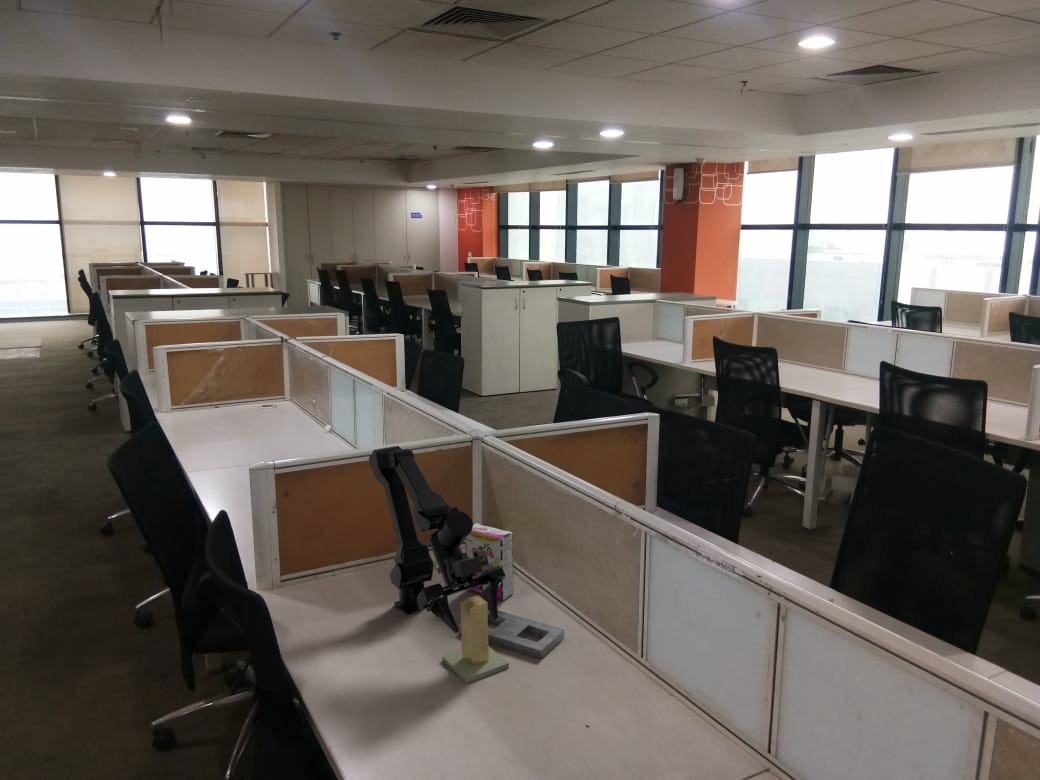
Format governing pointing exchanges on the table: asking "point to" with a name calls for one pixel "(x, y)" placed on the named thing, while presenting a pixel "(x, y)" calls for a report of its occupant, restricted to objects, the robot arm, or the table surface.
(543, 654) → the steel rail plate
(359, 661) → the table surface
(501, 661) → the olive rubber mat
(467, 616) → the brass peg
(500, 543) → the candy bar box
